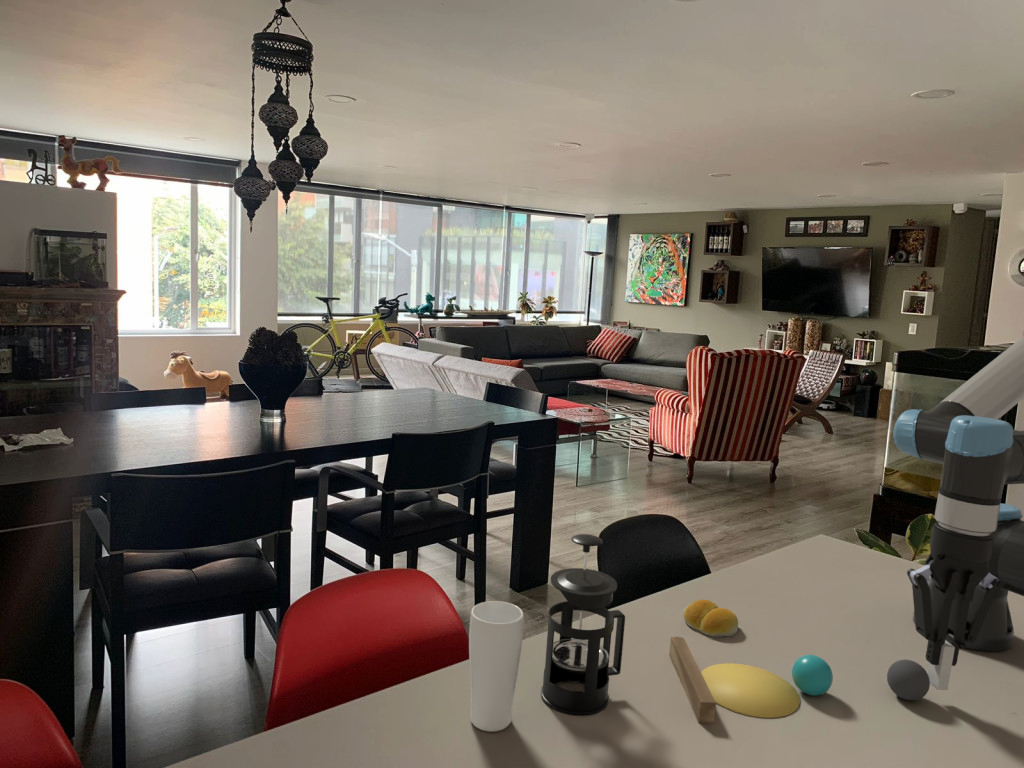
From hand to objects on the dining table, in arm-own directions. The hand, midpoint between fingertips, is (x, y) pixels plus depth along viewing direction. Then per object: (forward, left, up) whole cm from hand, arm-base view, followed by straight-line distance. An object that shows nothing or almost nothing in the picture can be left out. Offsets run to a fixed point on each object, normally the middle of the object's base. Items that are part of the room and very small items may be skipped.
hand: (936, 684), depth 110 cm
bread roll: (+27, -21, -3) cm, 34 cm away
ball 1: (+18, 0, 0) cm, 18 cm away
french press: (+52, +4, -3) cm, 52 cm away
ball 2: (+4, 0, 0) cm, 4 cm away
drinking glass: (+64, +11, -3) cm, 65 cm away
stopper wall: (+35, 0, -3) cm, 36 cm away
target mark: (+27, 0, -3) cm, 27 cm away
